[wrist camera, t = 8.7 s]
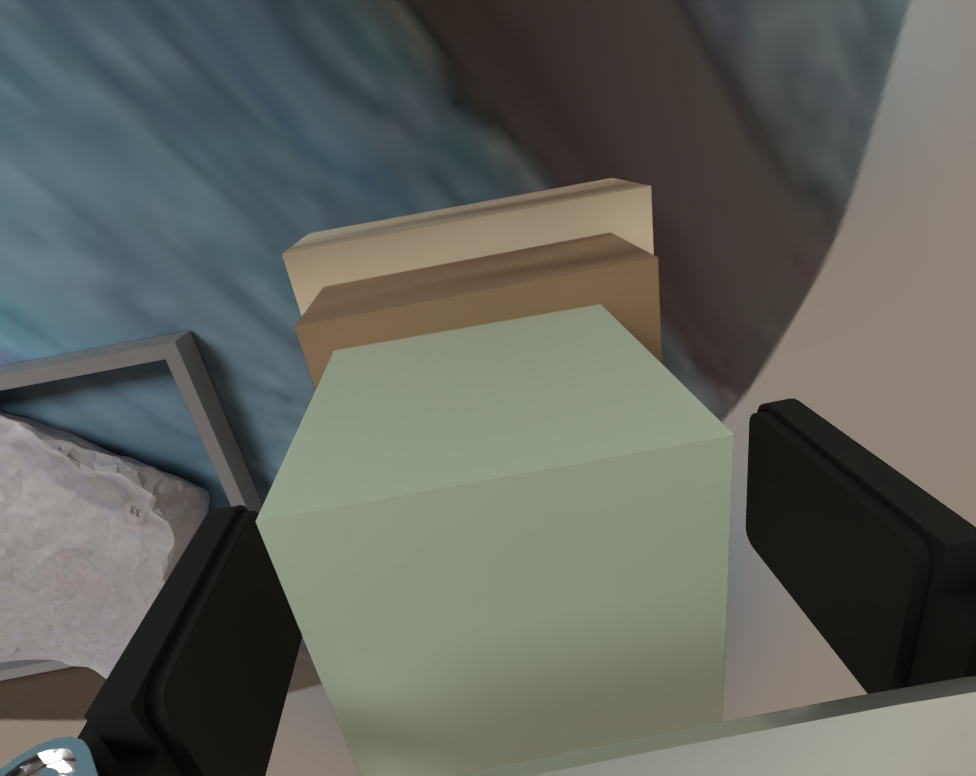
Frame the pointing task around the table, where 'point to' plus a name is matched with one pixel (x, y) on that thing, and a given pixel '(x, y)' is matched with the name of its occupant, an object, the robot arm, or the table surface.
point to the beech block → (469, 233)
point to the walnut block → (487, 296)
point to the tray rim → (197, 399)
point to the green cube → (506, 544)
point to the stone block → (83, 544)
